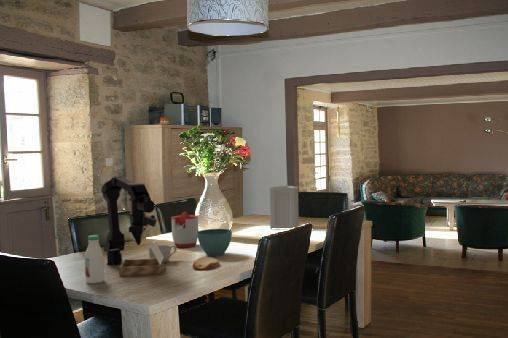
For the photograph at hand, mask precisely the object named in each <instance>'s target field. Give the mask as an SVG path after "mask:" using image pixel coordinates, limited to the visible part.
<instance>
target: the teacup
mask: <svg viewBox="0 0 508 338" xmlns="http://www.w3.org/2000/svg"><path fill="white" fill-rule="evenodd" d="M157 246H158V247H159V249H160V251H161V253H162V255H163V257H164V258H163V263H166V262H168V261H169V260H170V258H171V257H172V256H173V255H174V254H175V253H176V252H177V247H176V246H175V244H174V245H173V244H172V245H171V244H159V245H158V244H157ZM172 248H173V249H174V250H173V251H171V250H172ZM148 255H149V256H148V257H149V259H156V257H155V255H154V253H153V251H152V249H151V246H149V247H148Z"/></svg>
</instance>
